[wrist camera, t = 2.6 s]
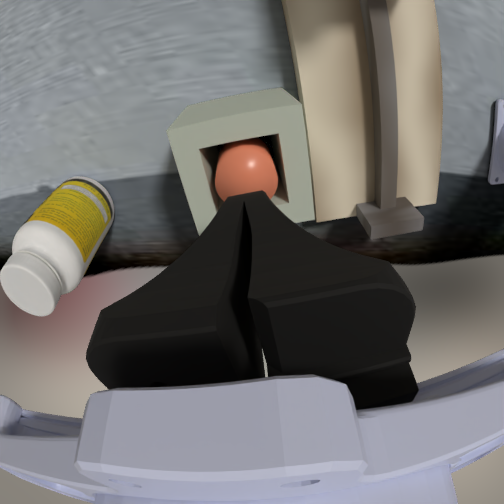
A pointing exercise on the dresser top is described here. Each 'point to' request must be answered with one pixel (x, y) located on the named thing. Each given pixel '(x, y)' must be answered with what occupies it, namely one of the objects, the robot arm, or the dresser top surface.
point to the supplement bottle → (57, 245)
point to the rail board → (369, 107)
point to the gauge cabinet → (239, 128)
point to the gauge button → (245, 169)
